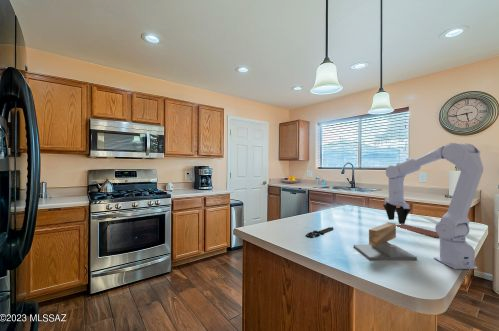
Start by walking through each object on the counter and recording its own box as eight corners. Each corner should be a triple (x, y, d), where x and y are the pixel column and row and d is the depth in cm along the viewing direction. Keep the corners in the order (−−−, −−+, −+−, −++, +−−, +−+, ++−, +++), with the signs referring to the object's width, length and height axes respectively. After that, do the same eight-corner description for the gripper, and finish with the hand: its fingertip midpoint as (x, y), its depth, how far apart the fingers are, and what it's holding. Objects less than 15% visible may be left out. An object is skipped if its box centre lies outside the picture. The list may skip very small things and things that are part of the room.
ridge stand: (416, 259, 88) (416, 246, 88) (369, 259, 88) (369, 246, 88) (394, 246, 102) (393, 235, 102) (353, 247, 102) (353, 235, 102)
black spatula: (330, 228, 135) (330, 225, 135) (340, 230, 129) (340, 228, 129) (302, 236, 120) (302, 233, 120) (312, 239, 114) (312, 236, 114)
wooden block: (395, 237, 99) (395, 223, 99) (376, 246, 88) (376, 231, 88) (388, 235, 101) (388, 222, 101) (369, 244, 91) (368, 229, 91)
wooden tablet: (452, 238, 115) (452, 234, 115) (437, 240, 112) (437, 236, 112) (404, 224, 141) (404, 222, 141) (391, 226, 138) (391, 223, 138)
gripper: (416, 193, 98) (416, 225, 98) (394, 190, 112) (395, 217, 112) (399, 194, 98) (399, 225, 98) (380, 190, 112) (380, 218, 112)
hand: (396, 221), depth 105 cm, fingers open, 7 cm apart
